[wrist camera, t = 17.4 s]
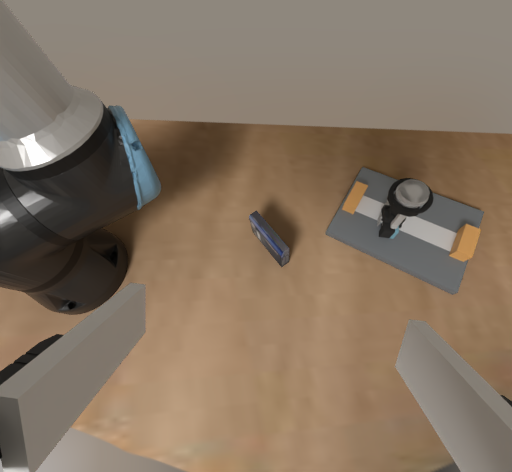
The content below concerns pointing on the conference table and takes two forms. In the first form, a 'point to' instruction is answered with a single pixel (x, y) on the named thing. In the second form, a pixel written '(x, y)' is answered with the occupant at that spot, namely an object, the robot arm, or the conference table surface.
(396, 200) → the push button
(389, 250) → the mounting panel
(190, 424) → the conference table surface
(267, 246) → the mini dv tape
